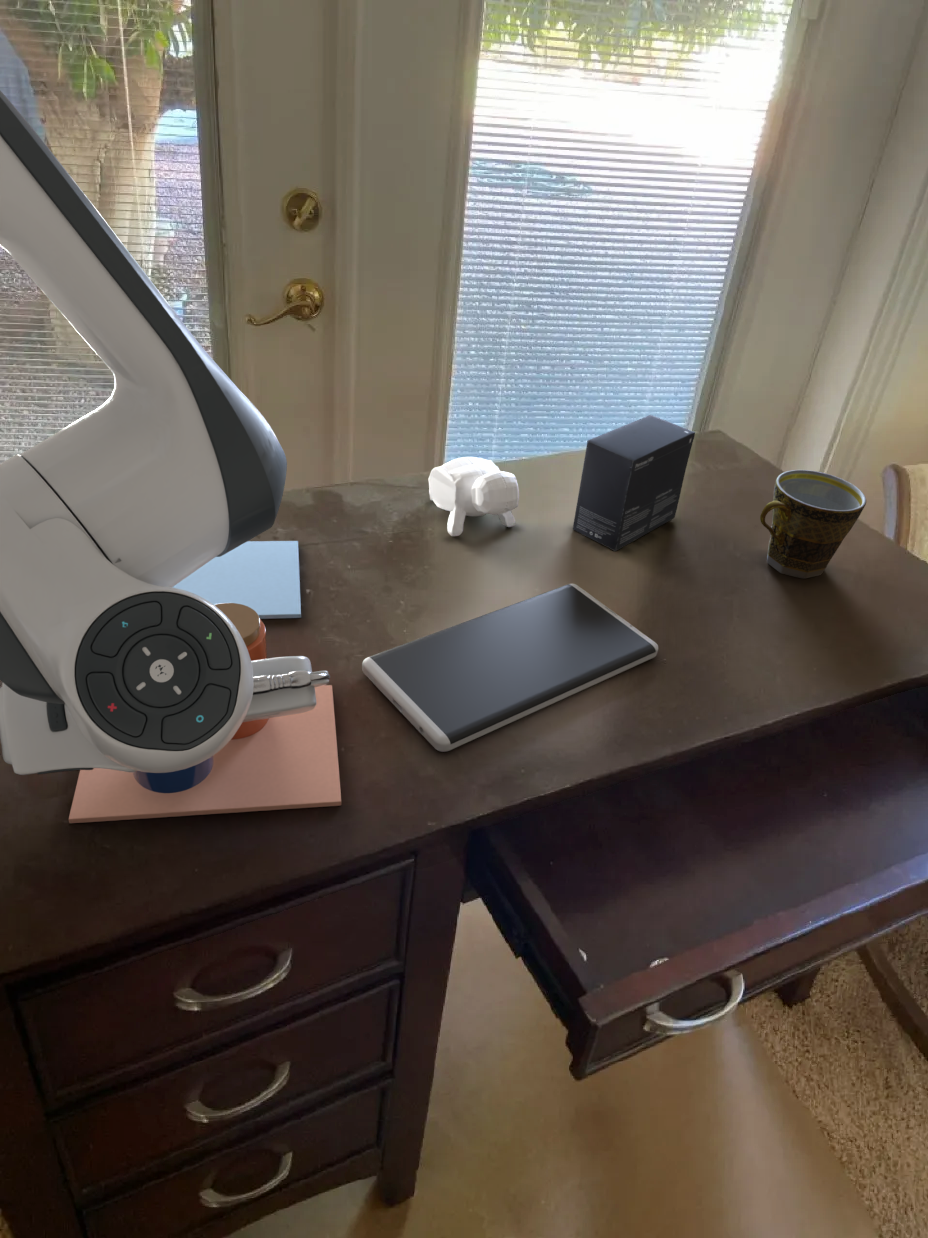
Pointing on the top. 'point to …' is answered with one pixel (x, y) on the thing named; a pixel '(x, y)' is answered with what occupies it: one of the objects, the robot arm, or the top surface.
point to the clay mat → (233, 775)
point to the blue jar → (175, 778)
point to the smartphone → (506, 664)
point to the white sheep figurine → (473, 491)
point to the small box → (632, 480)
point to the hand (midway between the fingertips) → (166, 712)
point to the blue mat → (252, 579)
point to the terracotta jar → (256, 645)
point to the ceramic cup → (809, 520)
